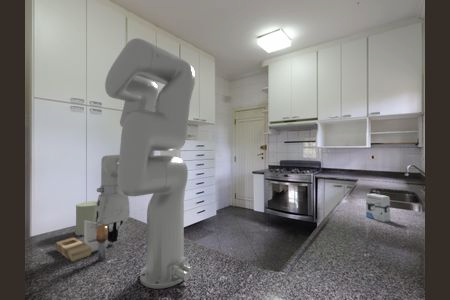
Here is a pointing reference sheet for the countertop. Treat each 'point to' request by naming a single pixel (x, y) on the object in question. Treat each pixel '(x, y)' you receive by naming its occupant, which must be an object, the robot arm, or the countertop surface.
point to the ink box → (378, 207)
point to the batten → (73, 249)
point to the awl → (101, 241)
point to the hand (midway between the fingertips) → (112, 240)
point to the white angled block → (91, 235)
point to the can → (85, 215)
